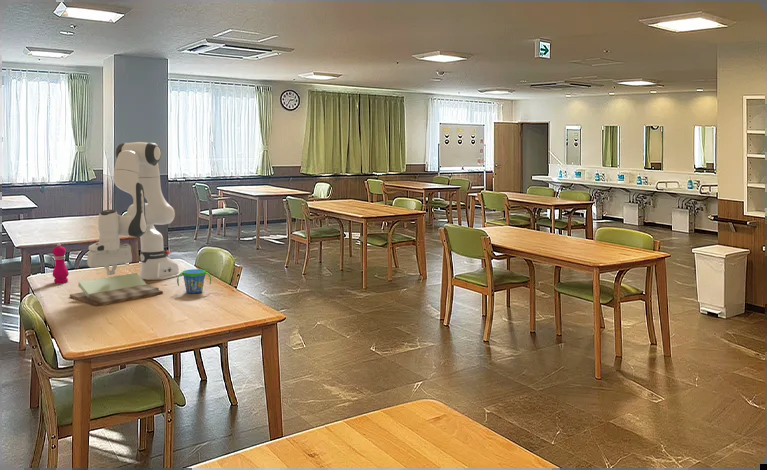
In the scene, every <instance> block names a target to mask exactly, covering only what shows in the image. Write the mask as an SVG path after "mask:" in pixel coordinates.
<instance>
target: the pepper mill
mask: <svg viewBox="0 0 767 470" xmlns="http://www.w3.org/2000/svg"><path fill="white" fill-rule="evenodd" d="M66 253H67V250H66V247H65V246H62V244H61V243H59V242H58V243H56V246H55V247H53V248H52V254H53V255H54V256H53V258H54V262H55V263H54V268H53V270H52V277H53V278H54V279H53V283H54V282H55V283H54V284H56V283H62V284H66V283H65V282H67V283H69V278H68V276H69V270H68V268H67V266H66V263H65V259H66V255H65V254H66Z"/></svg>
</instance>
